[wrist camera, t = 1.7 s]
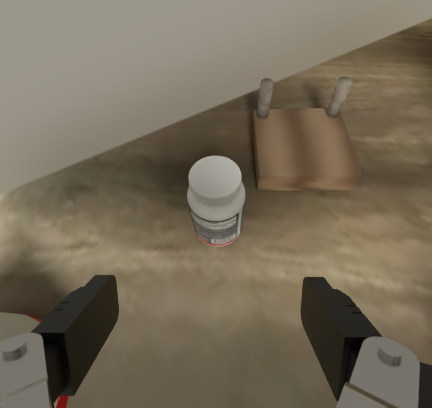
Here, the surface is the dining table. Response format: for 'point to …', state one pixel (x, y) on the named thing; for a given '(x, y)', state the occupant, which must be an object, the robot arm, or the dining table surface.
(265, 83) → the stand
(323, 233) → the dining table surface
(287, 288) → the dining table surface
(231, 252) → the dining table surface
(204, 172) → the pill bottle
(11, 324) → the kitchen timer
